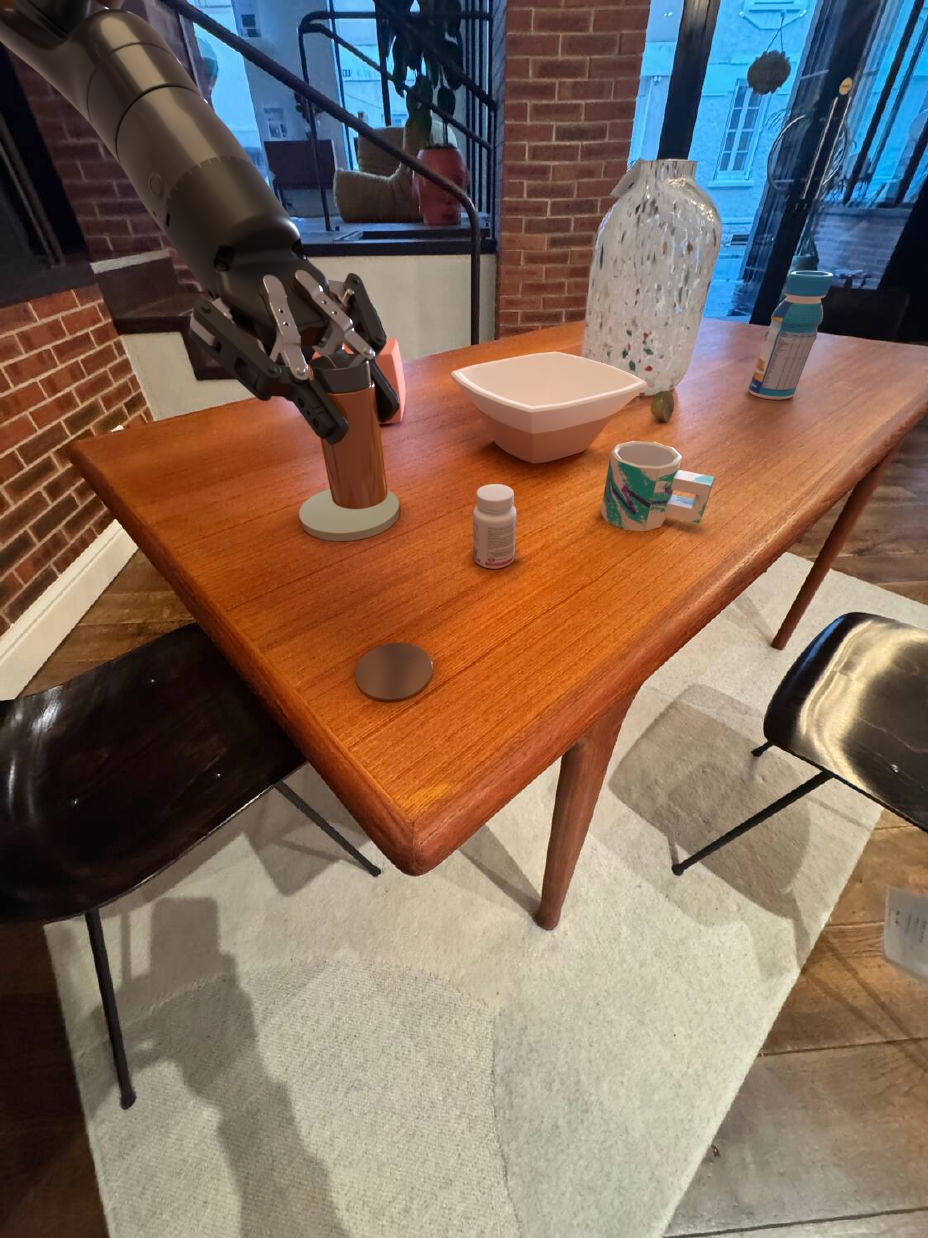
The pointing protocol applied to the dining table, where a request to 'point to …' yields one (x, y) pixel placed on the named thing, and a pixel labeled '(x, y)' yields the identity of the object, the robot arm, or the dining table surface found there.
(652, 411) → the lime
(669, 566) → the dining table surface
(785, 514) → the dining table surface
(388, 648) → the coaster
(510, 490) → the pill bottle
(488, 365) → the bowl
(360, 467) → the spice bottle
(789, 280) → the beverage bottle
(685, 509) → the mug
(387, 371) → the teapot
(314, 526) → the plate
